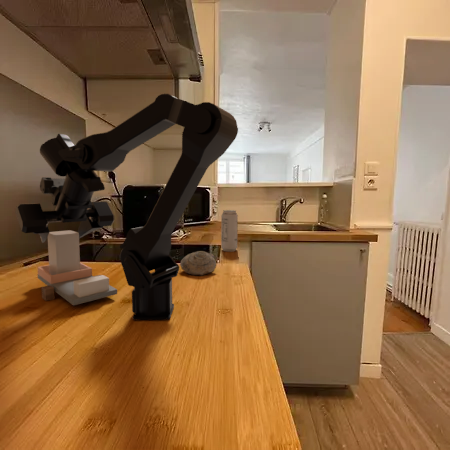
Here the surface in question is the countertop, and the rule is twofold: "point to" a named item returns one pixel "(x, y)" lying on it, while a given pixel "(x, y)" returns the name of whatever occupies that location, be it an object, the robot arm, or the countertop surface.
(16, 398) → the countertop surface
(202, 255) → the fossilized seashell
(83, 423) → the countertop surface
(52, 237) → the grey block
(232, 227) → the energy drink can
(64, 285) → the board
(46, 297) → the pivot stand
